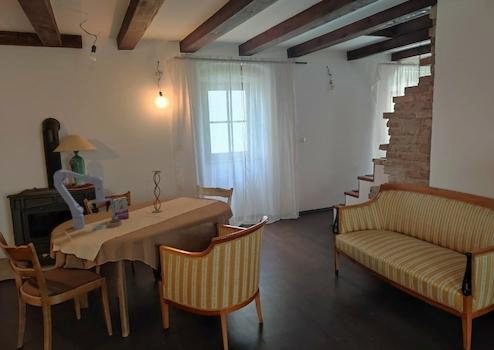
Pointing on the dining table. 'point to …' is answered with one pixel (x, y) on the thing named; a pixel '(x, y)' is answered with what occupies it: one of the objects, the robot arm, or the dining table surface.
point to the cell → (114, 219)
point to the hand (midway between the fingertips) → (101, 212)
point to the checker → (98, 227)
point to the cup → (114, 223)
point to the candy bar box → (120, 208)
